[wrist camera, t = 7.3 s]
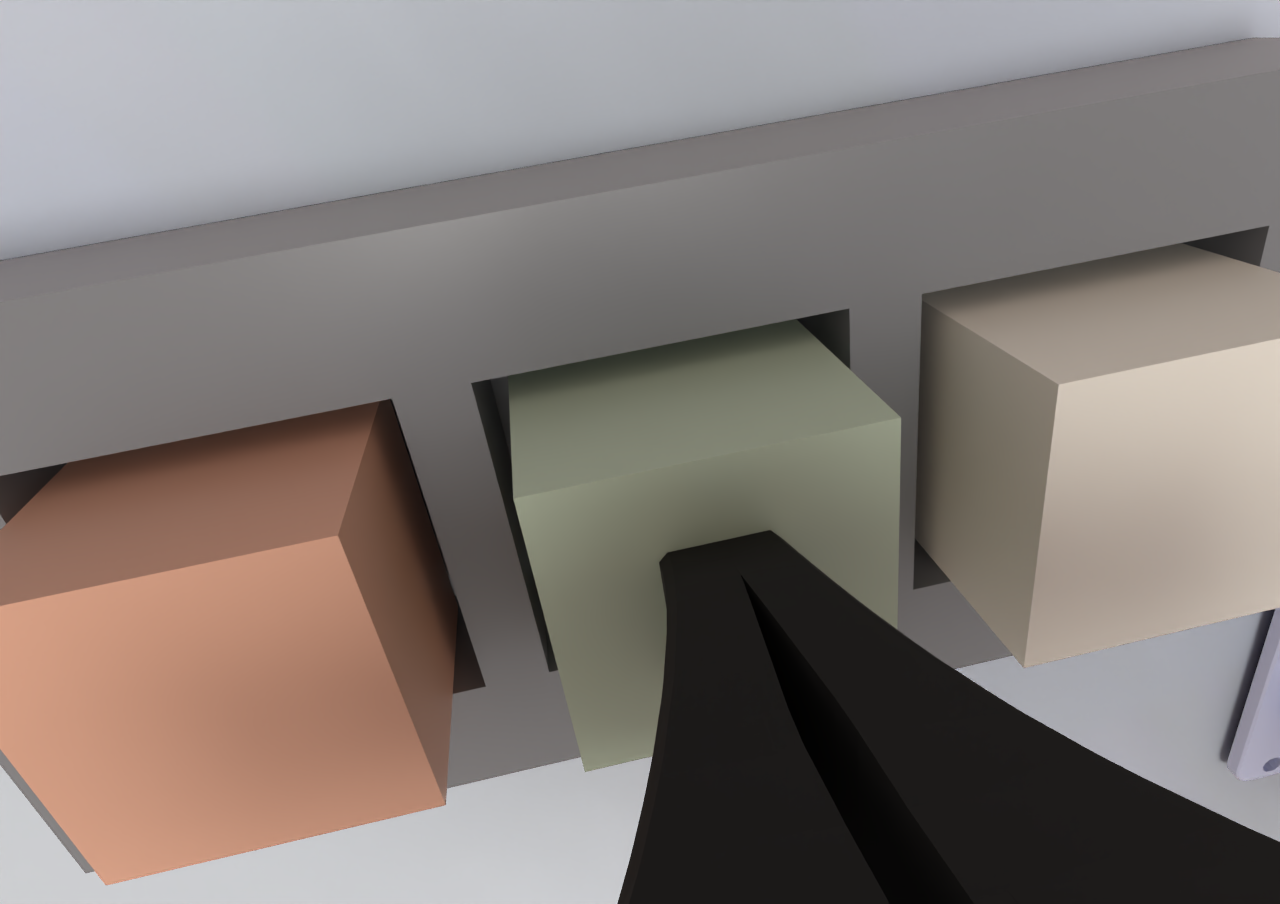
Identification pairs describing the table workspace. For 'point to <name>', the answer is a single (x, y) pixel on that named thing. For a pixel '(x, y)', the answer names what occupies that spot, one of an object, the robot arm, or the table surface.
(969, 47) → the table surface
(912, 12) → the table surface
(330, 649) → the terracotta key
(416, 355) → the keypad housing
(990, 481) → the ivory key
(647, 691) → the sage key
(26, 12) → the table surface
